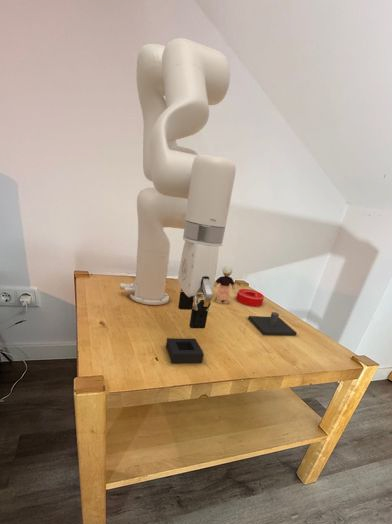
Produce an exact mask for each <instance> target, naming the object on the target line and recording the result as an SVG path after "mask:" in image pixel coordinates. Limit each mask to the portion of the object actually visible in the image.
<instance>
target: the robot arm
mask: <svg viewBox="0 0 392 524" xmlns="http://www.w3.org/2000/svg"><path fill="white" fill-rule="evenodd" d="M135 73H136V75H135V76H136V88H137V89H136V90H137V95H138V100H139V105H140V109H141V113H142V120H143V133H142V135H143V139H142V168H143V170H142V171H143V174H144V177H145V178H146V180H147V181H149V182H151V183H152V185H153V187H145V188H143V189H142V190H140V191H139V192H138V195H137V197H136V212H137V213H136V214H137V231H138V232H137V251H136V252H137V253H136V267H135V280H133V282H130V283H123V282H121V283H119V289H120V290H122V291H124V292H125V293H128V292H129V298H130V299H131V300H132V301H133V302H136V303H138V304H143V305H148V306H160V305H161V306H162V305H165V304H167V303H168V302H169V301H170V295H169V294H168V293H166V287H167V278H168V268H169V261H170V260H169V259H170V253H171V252H170V251H171V241H170V239H169V237H168V235H167V234H166V232H165V230H164V228H172V229H180V230H183V236H182V240H183V241H184V244H183V248H182V251H181V258H180V263H179V269H178V276H177V284H178V286H179V287H180V292H179V299H178V306H177V308H178V310H183V311H184V310H185V311H191V312H190V318H189V325H188V326H189V328H190V329H198V330H199V329H201V330H202V329H205V328H206V324H207V319H208V314H209V311H210V307H211V306H212V304H211V303H212V300H213V297H214V293H213V291H214V284H215V282H216V276H217V275H216V274H217V267H218V260H219V259H218V258H219V250H220V249H219V248H220V247H222V246H223V243H224V236H225V231H226V226H227V221H228V215H229V210H230V204H231V199H232V193H233V188H234V183H235V177H236V172H237V168H236V164H235V162H234V160H231V159H230V158H227V157H224V156H219V155H213V154H199V153H198V152H197V151H196V150H194V149H192V148H188V147H183V146H180V145H178V143H177V140H181V139H185V138H187V137H191V136H194V135H196V134H197V133H199V132H200V131H202V130H203V129H204V127H205V126H206V125H207V124H208V121H209V117H210V106H215V105H219V104H220V103H221V102H223V100H224V99H225V97H226V96H227V92H228V91H229V87H230V83H231V68H230V63H229V60H228V58H227V57H226V55H225V54H224V53H223V52H221V51H220V50H218V49H215V48H213V47H210V46H207V45H204V44H203V43H199V42H197V41H194V40H191V39H188V38H184V37H176V38H174V39H171V40H170V41H169V42H168V43H167V44H166V45H164V44H159V43H147V44H144V45H142V47H141V48H140V50H139V52H138V55H137V59H136V72H135ZM199 300H200V301H199Z"/></svg>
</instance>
